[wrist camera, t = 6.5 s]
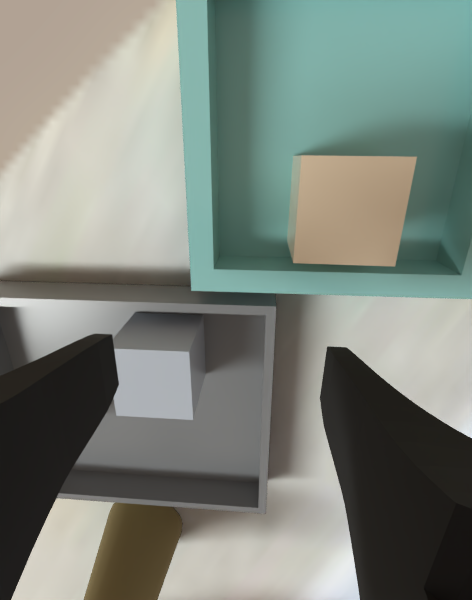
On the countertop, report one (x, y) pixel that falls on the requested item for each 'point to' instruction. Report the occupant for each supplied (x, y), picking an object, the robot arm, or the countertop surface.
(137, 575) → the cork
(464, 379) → the countertop surface
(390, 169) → the tan rectangular block
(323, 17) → the dish
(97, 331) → the tray
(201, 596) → the countertop surface
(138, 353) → the light gray rectangular block
